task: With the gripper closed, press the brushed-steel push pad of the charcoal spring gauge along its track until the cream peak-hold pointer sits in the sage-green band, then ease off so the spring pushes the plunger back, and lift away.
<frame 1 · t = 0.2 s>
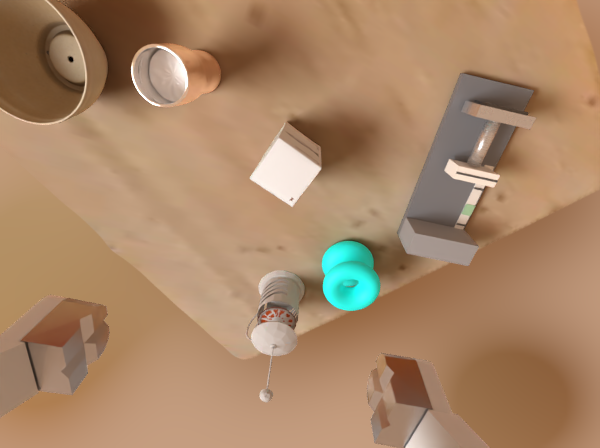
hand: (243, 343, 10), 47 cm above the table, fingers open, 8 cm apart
french press: (278, 290, 69), on the table
gauge pointer: (471, 172, 51), point 5 cm above the table, slide at 0.0 cm
donuts: (346, 259, 65), on the table
planter bowl: (78, 58, 50), on the table
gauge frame: (455, 169, 55), on the table
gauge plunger: (486, 136, 48), point 5 cm above the table, slide at 0.0 cm
beer glass: (201, 72, 50), on the table
supplement box: (291, 150, 55), on the table
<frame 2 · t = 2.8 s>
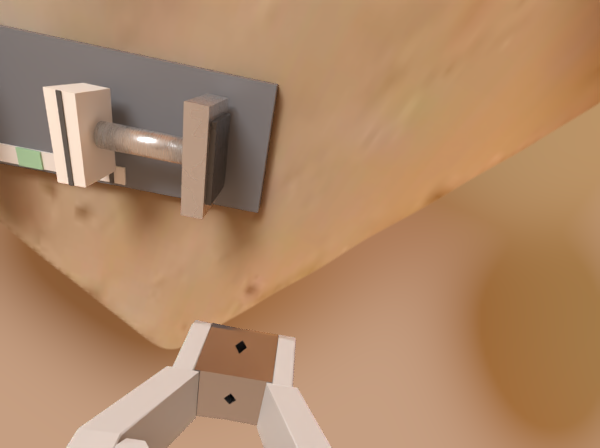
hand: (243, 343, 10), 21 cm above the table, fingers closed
gauge pointer: (83, 134, 24), point 5 cm above the table, slide at 0.0 cm
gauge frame: (106, 118, 28), on the table
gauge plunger: (162, 146, 24), point 5 cm above the table, slide at 0.0 cm
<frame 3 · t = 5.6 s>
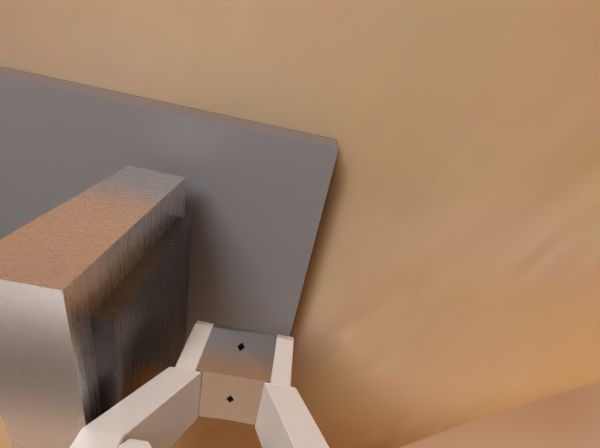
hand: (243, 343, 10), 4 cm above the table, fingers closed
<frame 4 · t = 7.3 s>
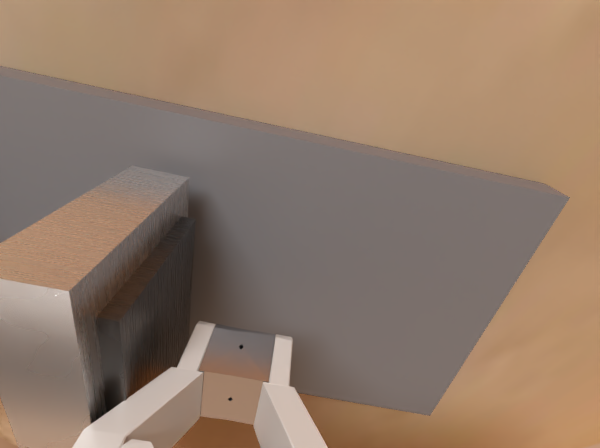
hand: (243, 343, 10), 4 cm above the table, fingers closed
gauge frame: (129, 241, 13), on the table
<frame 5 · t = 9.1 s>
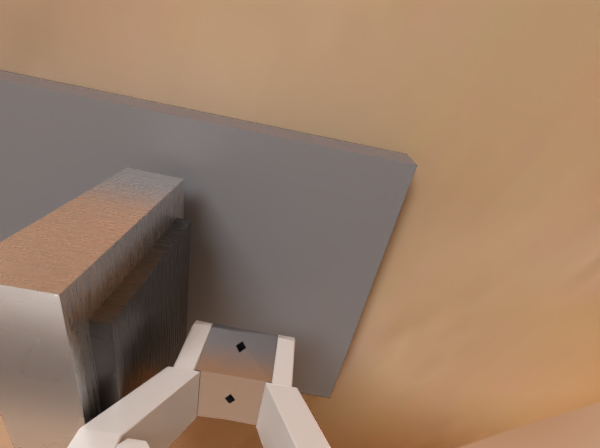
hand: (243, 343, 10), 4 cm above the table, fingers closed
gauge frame: (5, 220, 12), on the table
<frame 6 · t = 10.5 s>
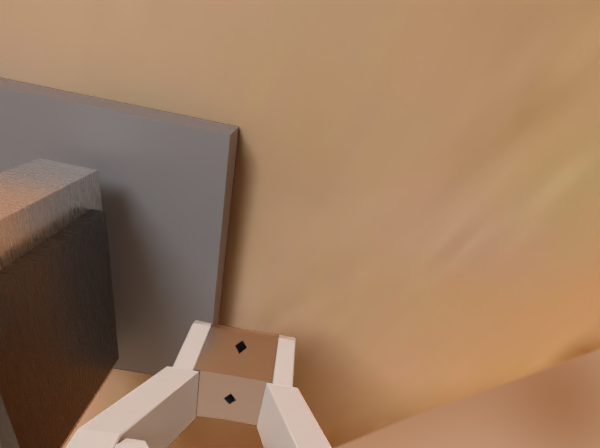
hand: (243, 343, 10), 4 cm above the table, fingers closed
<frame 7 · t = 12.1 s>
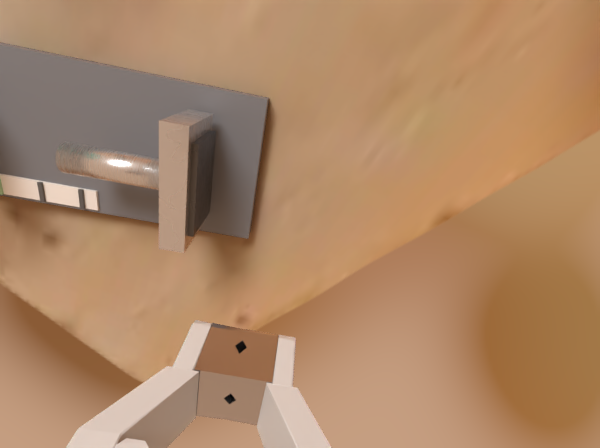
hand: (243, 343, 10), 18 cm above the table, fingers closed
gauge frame: (75, 136, 24), on the table
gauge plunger: (136, 170, 21), point 5 cm above the table, slide at 0.0 cm
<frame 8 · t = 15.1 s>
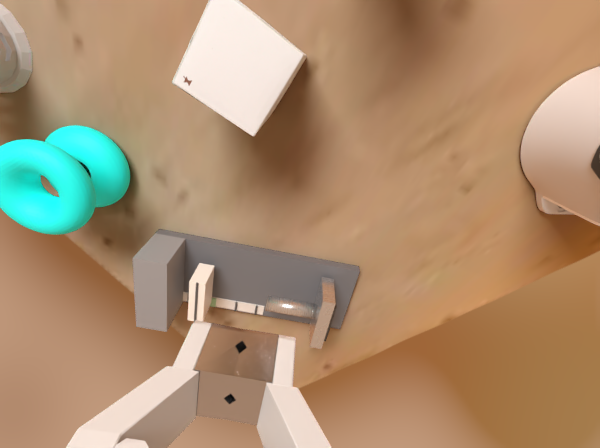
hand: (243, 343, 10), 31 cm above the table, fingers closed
gauge pointer: (201, 292, 43), point 5 cm above the table, slide at 7.4 cm
donuts: (95, 164, 40), on the table
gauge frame: (255, 279, 47), on the table
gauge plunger: (298, 308, 44), point 5 cm above the table, slide at 0.0 cm
supplement box: (261, 65, 35), on the table
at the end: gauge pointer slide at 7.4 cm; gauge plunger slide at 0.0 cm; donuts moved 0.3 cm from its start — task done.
